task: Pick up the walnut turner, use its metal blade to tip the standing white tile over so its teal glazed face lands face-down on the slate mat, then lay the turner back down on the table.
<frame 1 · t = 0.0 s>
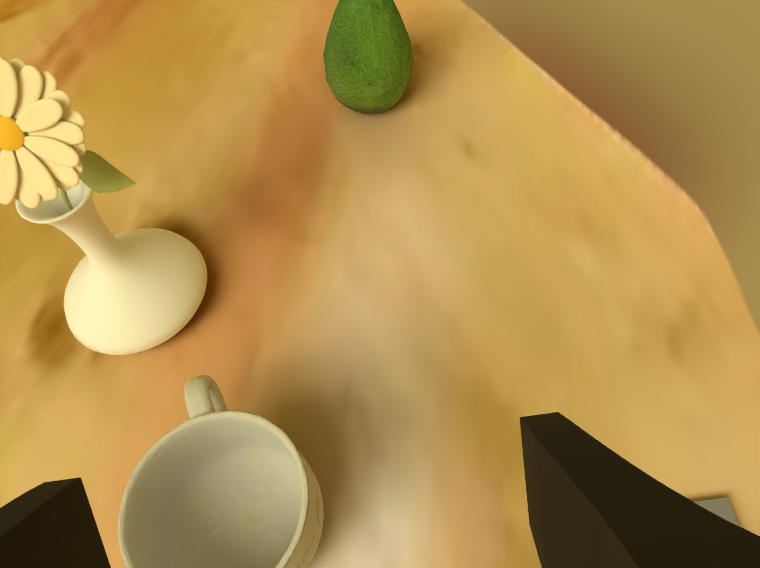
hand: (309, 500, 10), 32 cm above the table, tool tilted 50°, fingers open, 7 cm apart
fruit: (374, 104, 61), on the table
flower in vase: (154, 303, 52), on the table
teacup: (251, 505, 43), on the table
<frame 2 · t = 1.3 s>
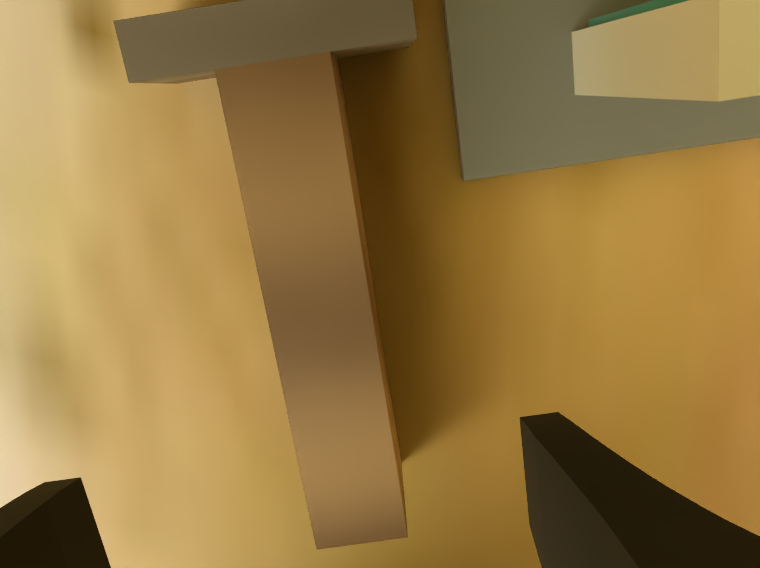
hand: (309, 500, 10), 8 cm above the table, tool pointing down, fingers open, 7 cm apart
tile: (694, 45, 16), resting on mat
turner: (299, 105, 17), on the table
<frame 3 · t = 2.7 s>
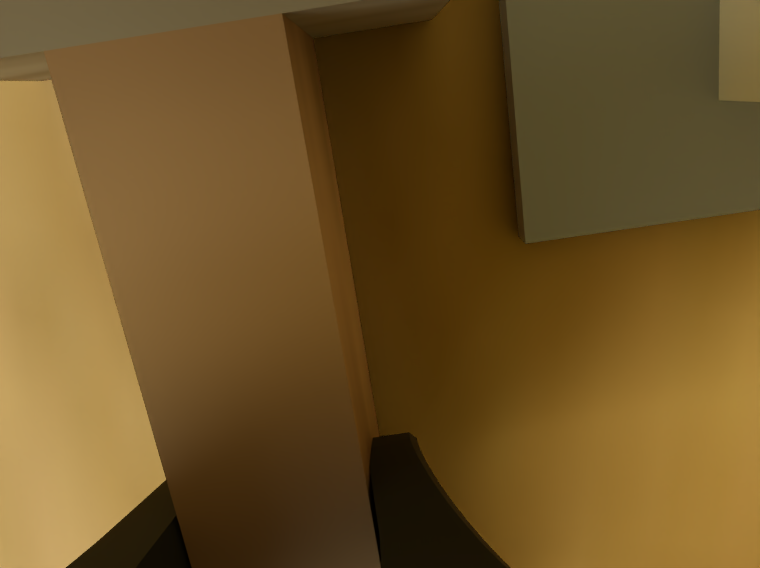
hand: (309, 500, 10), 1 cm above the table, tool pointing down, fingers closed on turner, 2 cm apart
turner: (248, 118, 10), on the table, touching gripper
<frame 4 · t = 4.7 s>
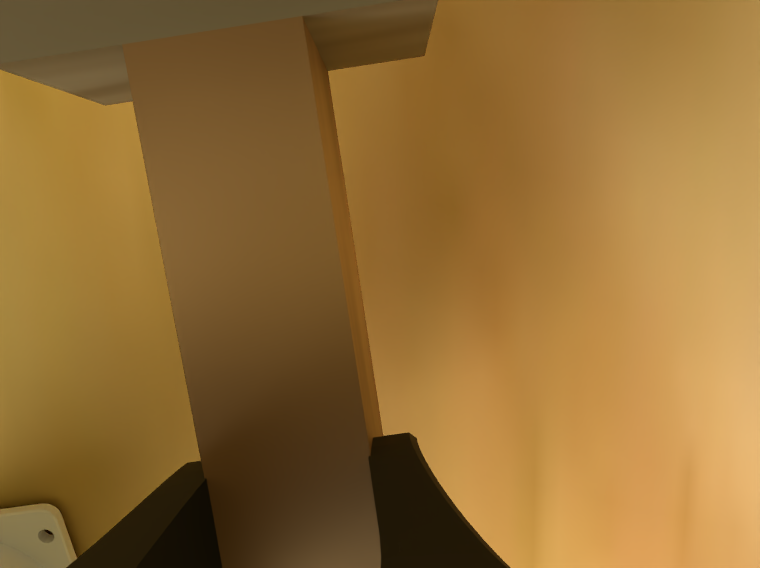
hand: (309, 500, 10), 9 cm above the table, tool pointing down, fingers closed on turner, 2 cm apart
turner: (272, 135, 12), point 6 cm above the table, tilted 10°, touching gripper
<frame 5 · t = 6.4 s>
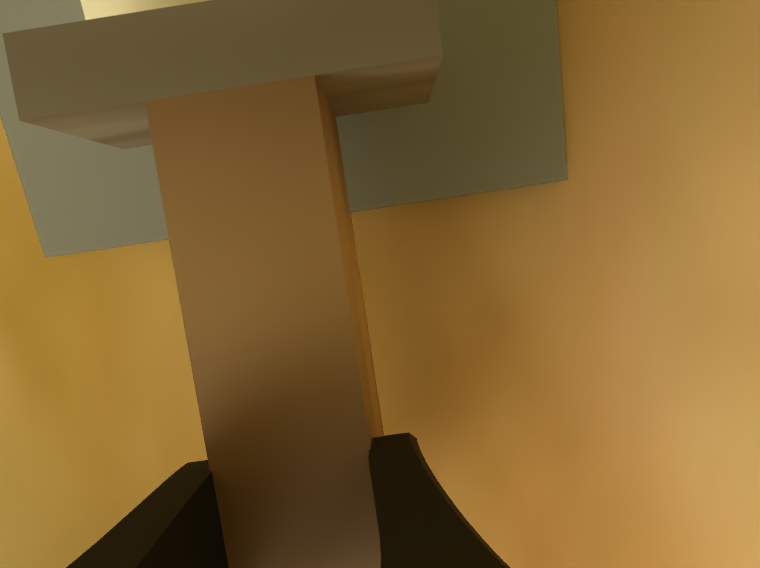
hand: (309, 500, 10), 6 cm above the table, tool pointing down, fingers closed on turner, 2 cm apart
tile: (264, 48, 12), point 1 cm above the table, tilted 90°, touching mat
turner: (283, 177, 12), point 2 cm above the table, tilted 12°, touching gripper
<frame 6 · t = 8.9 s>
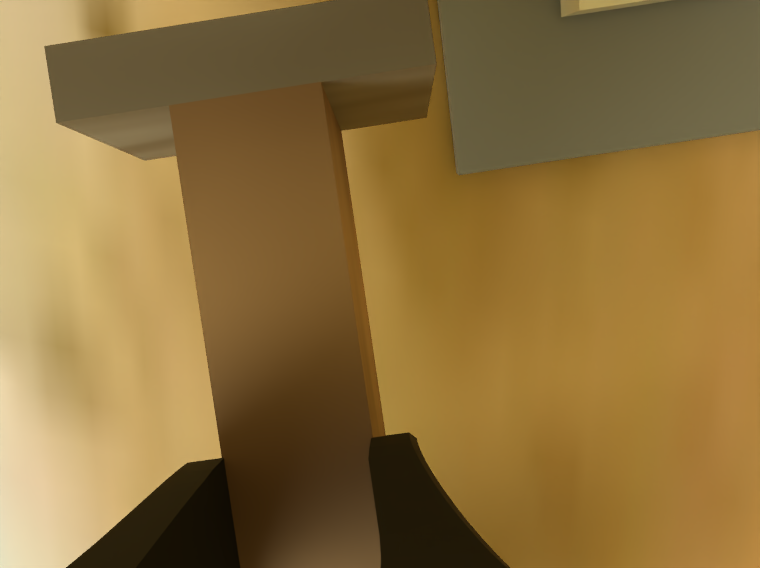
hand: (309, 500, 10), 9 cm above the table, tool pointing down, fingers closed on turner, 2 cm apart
turner: (291, 186, 13), point 5 cm above the table, tilted 16°, touching gripper
when the fingers open (3 cm above the table, at t = 10.3 s): turner stays where it is, on the table.
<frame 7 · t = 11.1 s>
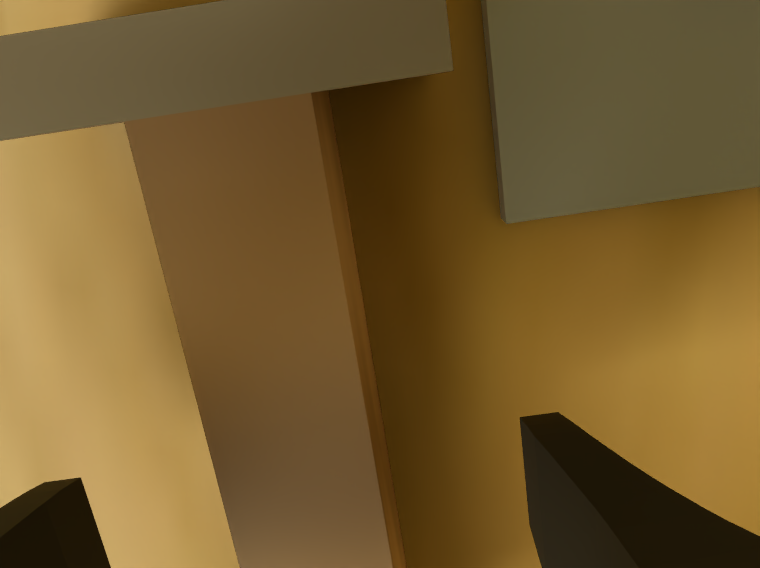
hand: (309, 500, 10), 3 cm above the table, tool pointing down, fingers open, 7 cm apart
turner: (273, 156, 12), on the table
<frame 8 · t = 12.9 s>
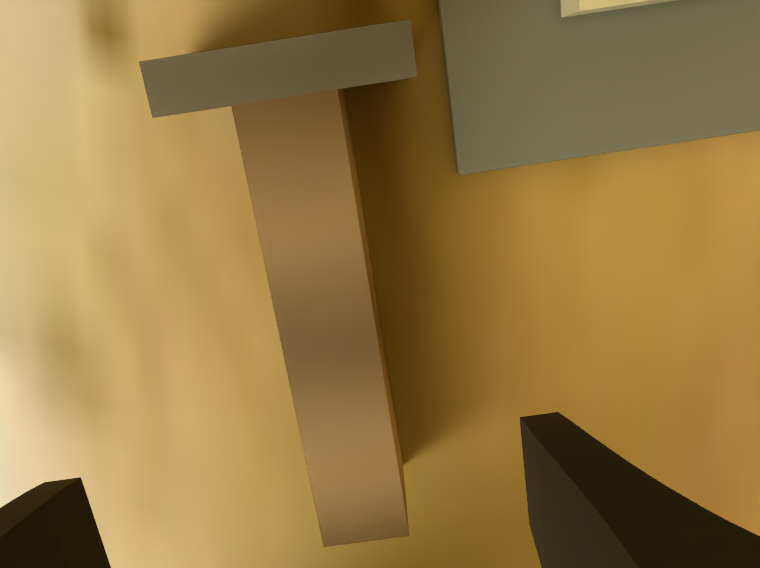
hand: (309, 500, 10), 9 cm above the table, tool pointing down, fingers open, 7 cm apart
turner: (307, 131, 18), on the table
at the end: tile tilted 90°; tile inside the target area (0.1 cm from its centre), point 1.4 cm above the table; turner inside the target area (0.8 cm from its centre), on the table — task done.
